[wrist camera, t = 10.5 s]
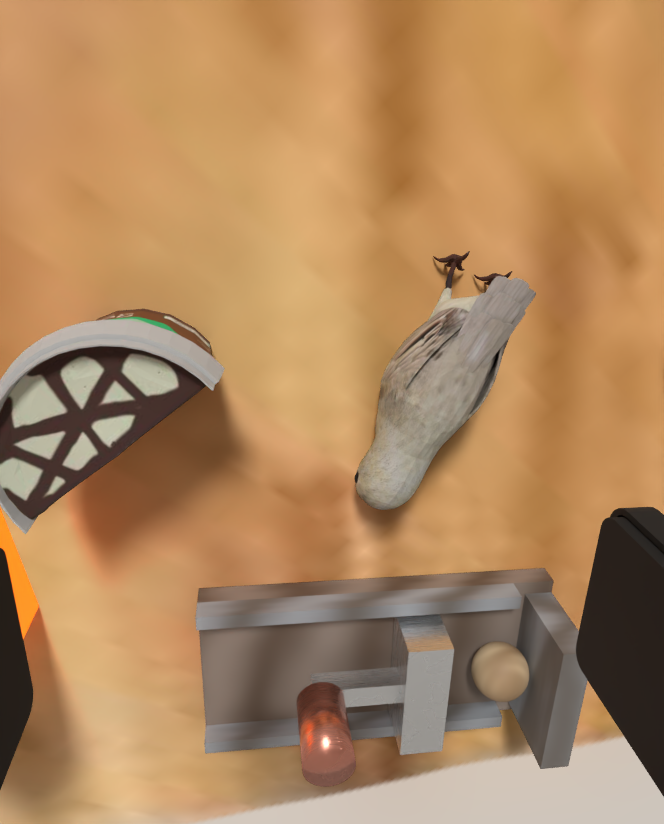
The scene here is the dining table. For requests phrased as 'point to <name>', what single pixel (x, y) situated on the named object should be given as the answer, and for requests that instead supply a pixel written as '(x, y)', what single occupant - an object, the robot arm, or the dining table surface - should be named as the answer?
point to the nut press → (390, 654)
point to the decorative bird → (438, 383)
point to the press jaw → (379, 700)
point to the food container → (91, 401)
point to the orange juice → (18, 579)
